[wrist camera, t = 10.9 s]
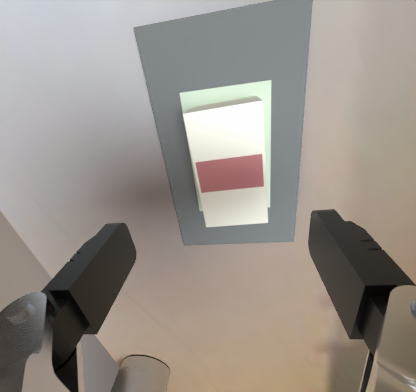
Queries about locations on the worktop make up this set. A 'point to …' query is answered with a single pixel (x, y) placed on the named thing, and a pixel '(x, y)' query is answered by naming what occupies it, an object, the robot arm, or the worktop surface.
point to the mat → (230, 90)
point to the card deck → (229, 160)
